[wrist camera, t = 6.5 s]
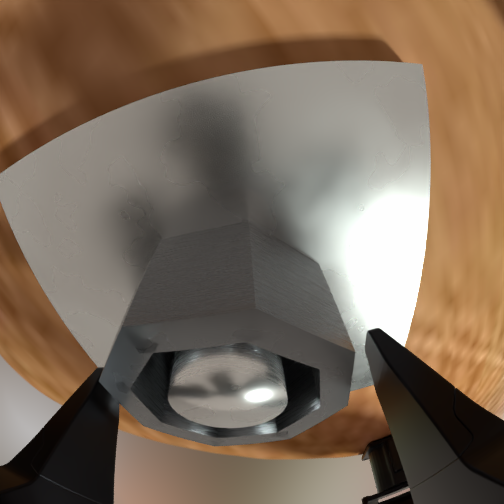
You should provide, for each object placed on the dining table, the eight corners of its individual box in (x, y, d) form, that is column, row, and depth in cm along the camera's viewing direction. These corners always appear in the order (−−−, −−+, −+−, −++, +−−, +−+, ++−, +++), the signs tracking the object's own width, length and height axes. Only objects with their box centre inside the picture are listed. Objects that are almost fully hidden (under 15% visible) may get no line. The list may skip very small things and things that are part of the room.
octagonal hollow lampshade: (323, 352, 12) (343, 427, 9) (177, 373, 12) (167, 446, 9) (313, 208, 9) (360, 286, 5) (110, 251, 9) (58, 332, 6)
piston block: (389, 365, 15) (416, 431, 11) (144, 402, 16) (133, 467, 12) (406, 65, 7) (515, 65, 3) (7, 171, 8) (-75, 223, 4)
